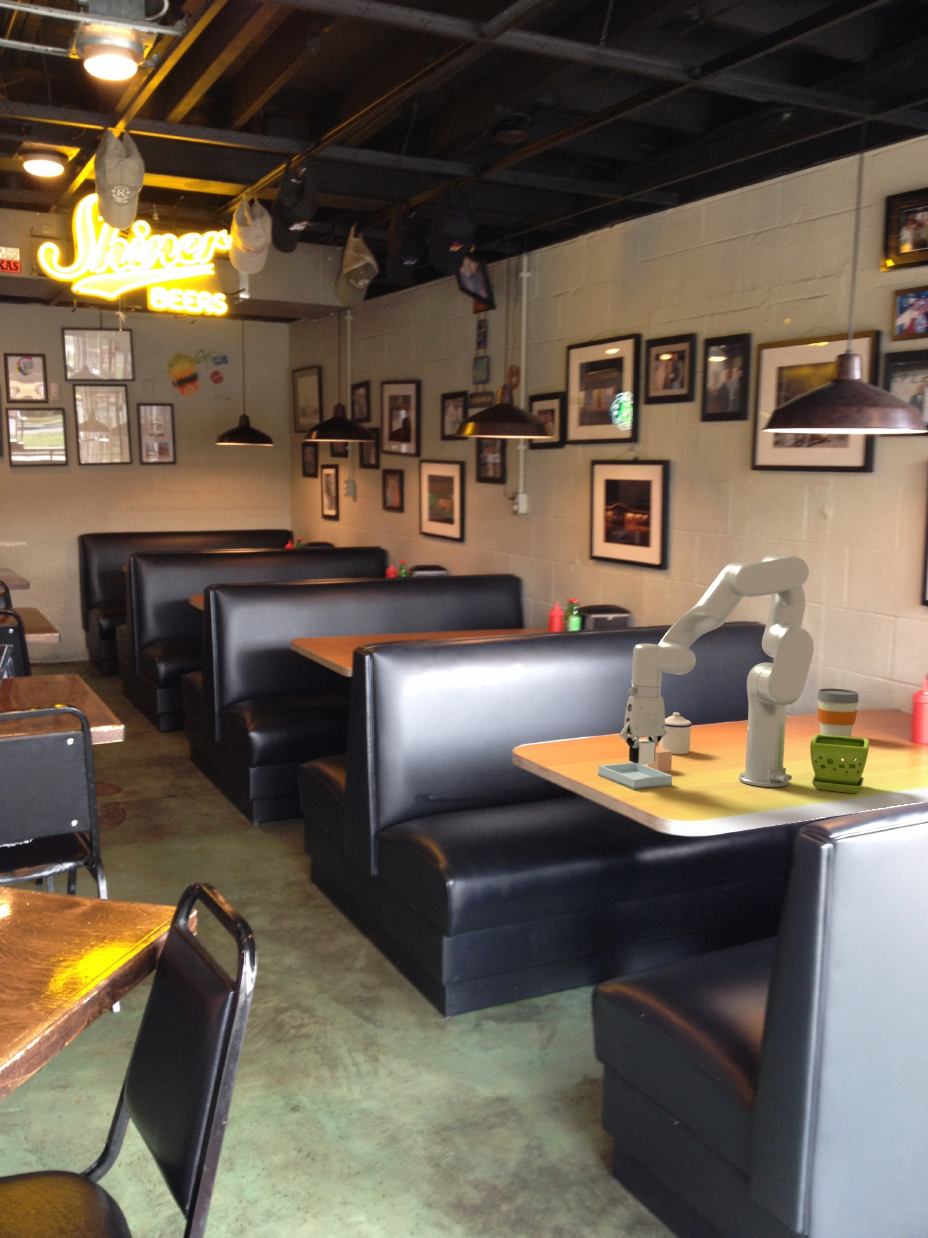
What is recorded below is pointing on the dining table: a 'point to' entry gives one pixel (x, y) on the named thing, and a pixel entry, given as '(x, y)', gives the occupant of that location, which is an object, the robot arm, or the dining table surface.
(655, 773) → the tray
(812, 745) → the flower pot
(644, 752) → the white block
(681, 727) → the teacup with lid
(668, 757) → the terracotta block
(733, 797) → the dining table surface
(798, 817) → the dining table surface
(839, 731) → the reusable coffee cup
